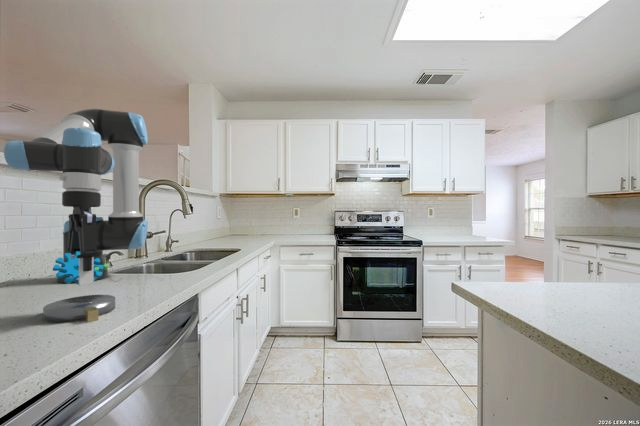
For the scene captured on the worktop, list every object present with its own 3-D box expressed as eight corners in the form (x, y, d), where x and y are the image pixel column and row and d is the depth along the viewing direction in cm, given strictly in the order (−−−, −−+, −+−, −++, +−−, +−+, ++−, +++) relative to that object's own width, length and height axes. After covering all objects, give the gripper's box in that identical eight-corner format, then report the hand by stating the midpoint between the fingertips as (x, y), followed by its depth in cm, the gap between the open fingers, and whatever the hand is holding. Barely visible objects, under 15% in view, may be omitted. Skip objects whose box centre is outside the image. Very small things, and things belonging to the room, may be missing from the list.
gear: (53, 282, 66) (54, 248, 71) (47, 297, 68) (47, 264, 74) (111, 280, 74) (107, 250, 80) (103, 294, 77) (100, 264, 82)
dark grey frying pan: (37, 313, 72) (38, 303, 72) (105, 300, 83) (105, 291, 83) (52, 330, 62) (52, 318, 62) (127, 313, 73) (127, 303, 73)
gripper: (53, 192, 77) (52, 278, 77) (73, 187, 64) (72, 291, 64) (88, 194, 83) (88, 274, 82) (113, 190, 70) (112, 285, 70)
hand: (81, 281), depth 73 cm, fingers closed on gear, 8 cm apart
